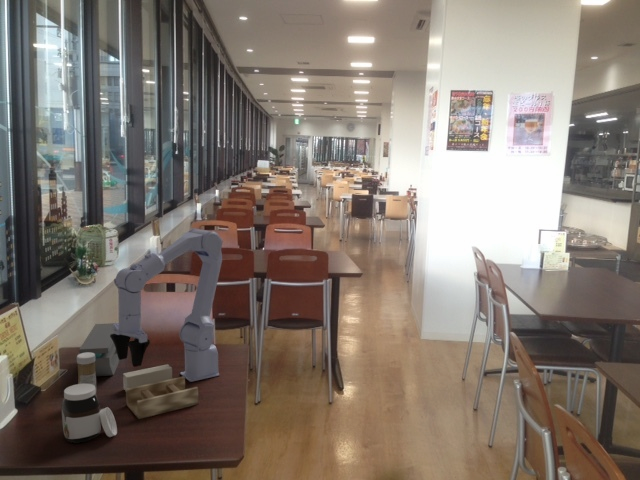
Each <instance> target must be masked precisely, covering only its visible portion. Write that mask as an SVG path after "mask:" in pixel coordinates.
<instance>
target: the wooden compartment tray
mask: <svg viewBox="0 0 640 480" xmlns="http://www.w3.org/2000/svg"><path fill="white" fill-rule="evenodd" d="M125 398H126V399H125V400H126V406H127V407H128V409H130V411H131V412H132V413H133V414H134V415H135V417H136V419H138V420H141V419H142V420H143V419H146V418H149V417H152V416H156V415H157V416H158V415H161V414H164V413H169V412H173V411H176V410H180V409H185V408H189V407H192V406H196V405H199V388H198V386H194V387H190V388H186V378H185V377H184V376H179V377H174V378H173V377H172V379H169V380H164V381H160V382H155V383H151V384H146V385H142V386H137V387H133V388H128V389H126V392H125Z"/></svg>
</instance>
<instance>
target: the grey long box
mask: <svg viewBox="0 0 640 480" xmlns="http://www.w3.org/2000/svg"><path fill="white" fill-rule="evenodd" d="M113 324H119V322H115V323H114V322H113V323H95V324H94V325H93V327H92V328H91V330H90V332H89V333H88V335H87V336H86V338H85V339H84V341H83V343H82V344H81V346H80V347H79V349H78V355H79V354H81V353H86V352H91V353H94V354H95V372H96V377H108V376H114V375H115V373H116V370H117V368H118V365H119V362H120V360H119V358H118V355H117V351H116V347H115V345H114V342H113V340H112V339H111V337H110V335H111V334H115V332H114V331H113Z"/></svg>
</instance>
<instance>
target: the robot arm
mask: <svg viewBox="0 0 640 480" xmlns="http://www.w3.org/2000/svg"><path fill="white" fill-rule="evenodd" d="M223 243H224V241H223V239H222V237H221V236H220V235H219V233H218V232H217V231H214V230H211V231H210V230H205V229H199V228H196V227H195V228H191V229H190V230H189V229H188V231H186V232H183V234H182V235H181V236H180V237H179V238H178V239H177V240H176V241H174V242H173V243H171V244H170V245H169V246H168V247H166V248H165V249H163V250H162V251H160V252H159V253H154V252H152V253H146V254H145V255H144V257H143V258H142V259H141V260H139V261H138V262H136V263H132V264H131V265H130V267H129V268H128V267H127V268H122V269H120V270H119V271H118V272H117V274H116V277H115V278H114V279H113V283H114V285H115V286H116V288H117V289H118V323H119V324H113V331H114V332H115V334H111V335H110V337H111V339H112V340H113V342H114V345H115V347H116V351H117V355H118V358H119V361H120V360H126V359H127V358H128V353H129V351H130V355H131V357H130V358H131V363H132V366H133V367H134V368H135V367H140V366H142V363H143V359H144V356H145V353H146V350H147V348H148V347H149V345H150V343H151V341H150V339H148V334H147V333H145V331H144V330H143V329H142V290H143V289H144V288H145V286H146V284H147V282H149V281H150V280H152V279H153V278H155V276H157V275H159V274H160V273H162V272H164V271H165V267H166V265H167V264H168V263H170V262H171V261H173V260H175V259H177V258H178V257H180V256H182V255H183V254H185V253H187V252H194V253H195V254H197V256H198V257H199V259H200V260H201V262H202V265H201V270H200V273H199V278H198V282H197V286H196V290H195V291H196V292H195V295H194V296H195V297H194V301H193V304H192V310H191V313H190V314H189V315H187V316H186V317H184V318H185V319H184V321H183V325H182V326H181V327H180V329H179V333H178V335H179V339H180V341H181V342H183V346H184V371H181V372H180V373H179V374H180V375H181V377H183V376H184V377H185V380H187V381H188V382H190V383H191V382H196V381H200V380H206V379H209V378H214V377H218V376H220V373H219V353H218V349H217V347H216V345H215V344H213V343H214V340H215V333H214V328H215V324H214V322H213V320H212V319H211V312H212V308H213V303H214V299H215V295H216V289H217V285H218V281H219V278H220V271H221V268H222V263H223V254H222V247H223ZM131 338H132V339H133V340H131Z"/></svg>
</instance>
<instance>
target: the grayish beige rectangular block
mask: <svg viewBox="0 0 640 480" xmlns="http://www.w3.org/2000/svg"><path fill="white" fill-rule="evenodd" d="M122 379H123V380H122V382H123V383H122V385H123V390H125V391H124V392H125V393H126V389H128V388H133V387H137V386H142V385H146V384H151V383H155V382H160V381H164V380H169V379H173V367H172V366H170V365H169V364H168V363H167V364H164V365H157V366H154V367H153V366H152V367H148V368H141V369H138V370H133V371H128V372H124V373H123V372H122Z"/></svg>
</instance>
